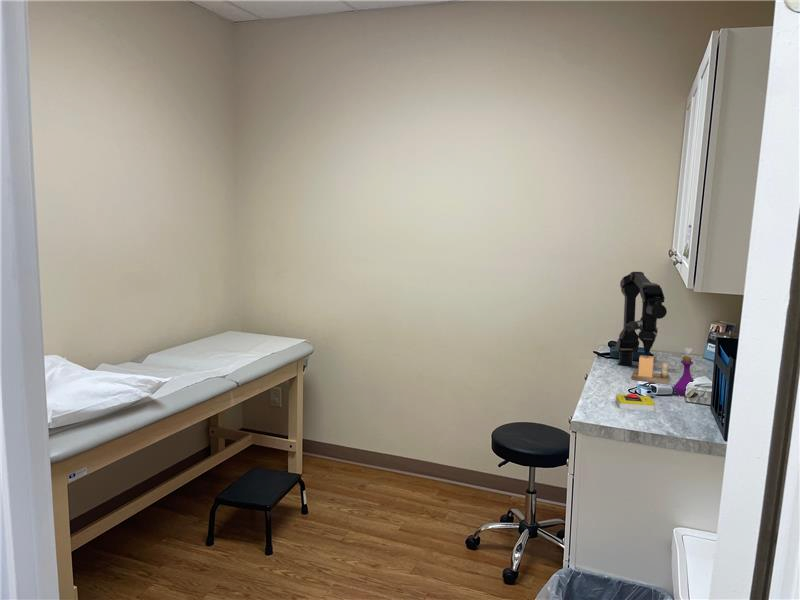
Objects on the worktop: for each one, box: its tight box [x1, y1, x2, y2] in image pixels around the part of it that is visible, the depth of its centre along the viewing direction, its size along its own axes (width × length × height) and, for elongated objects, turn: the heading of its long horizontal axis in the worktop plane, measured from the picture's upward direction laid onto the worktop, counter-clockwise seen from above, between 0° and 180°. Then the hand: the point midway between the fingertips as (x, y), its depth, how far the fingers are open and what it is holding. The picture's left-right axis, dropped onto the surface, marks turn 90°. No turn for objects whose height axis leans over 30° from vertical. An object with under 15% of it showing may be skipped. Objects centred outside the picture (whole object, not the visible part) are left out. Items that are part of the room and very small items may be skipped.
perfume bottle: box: [672, 347, 695, 397], centre depth 211 cm, size 8×8×18 cm
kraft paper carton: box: [637, 354, 655, 377], centre depth 236 cm, size 5×5×8 cm
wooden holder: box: [630, 361, 671, 385], centre depth 235 cm, size 10×14×8 cm
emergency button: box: [611, 393, 662, 413], centre depth 198 cm, size 9×4×15 cm
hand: (647, 352), depth 235 cm, fingers open, 8 cm apart
